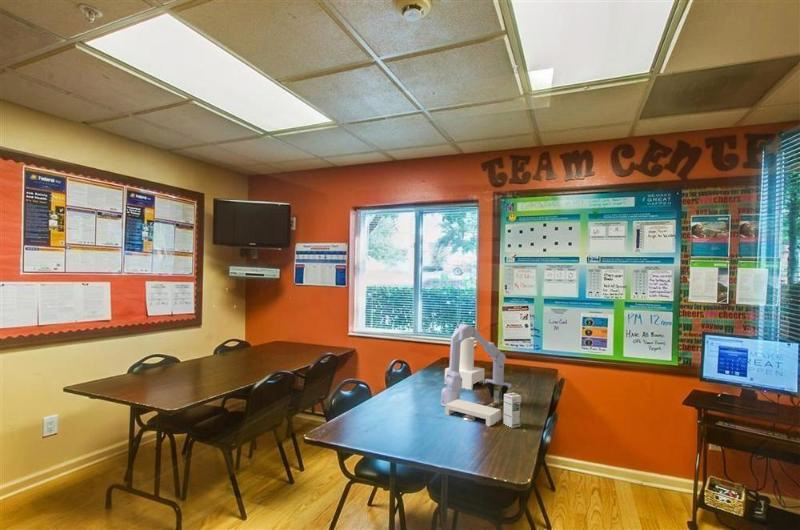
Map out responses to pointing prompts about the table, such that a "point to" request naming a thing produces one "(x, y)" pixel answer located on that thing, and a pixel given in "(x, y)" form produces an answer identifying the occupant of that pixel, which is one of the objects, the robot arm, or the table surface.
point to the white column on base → (468, 365)
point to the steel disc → (468, 418)
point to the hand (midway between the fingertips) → (497, 398)
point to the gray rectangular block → (496, 398)
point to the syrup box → (512, 410)
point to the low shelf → (474, 410)
